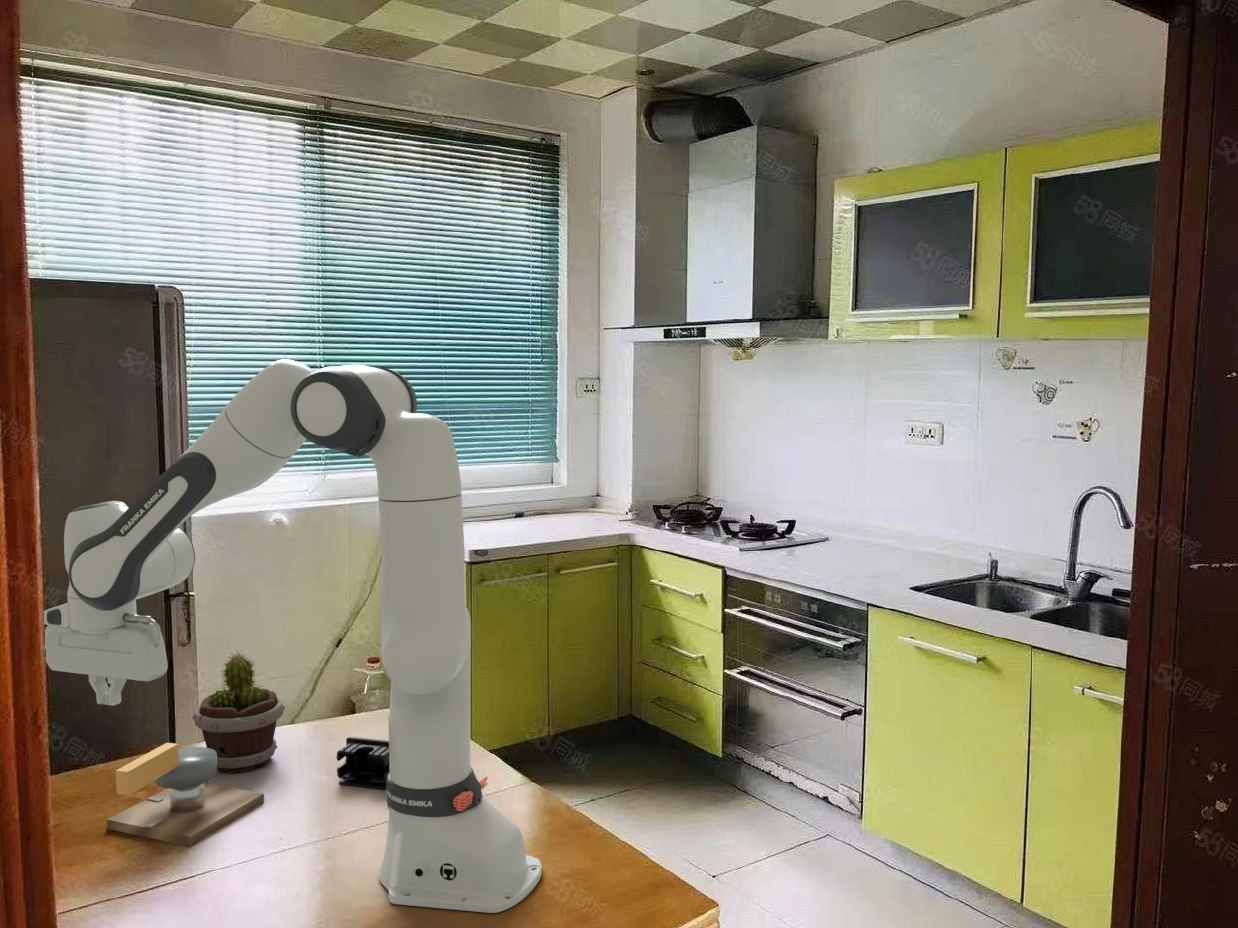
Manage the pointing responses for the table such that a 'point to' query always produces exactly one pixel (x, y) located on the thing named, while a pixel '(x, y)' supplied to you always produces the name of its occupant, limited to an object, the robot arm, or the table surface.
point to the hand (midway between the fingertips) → (109, 703)
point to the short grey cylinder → (187, 799)
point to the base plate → (185, 815)
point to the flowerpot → (240, 719)
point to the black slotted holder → (364, 763)
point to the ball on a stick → (168, 769)
